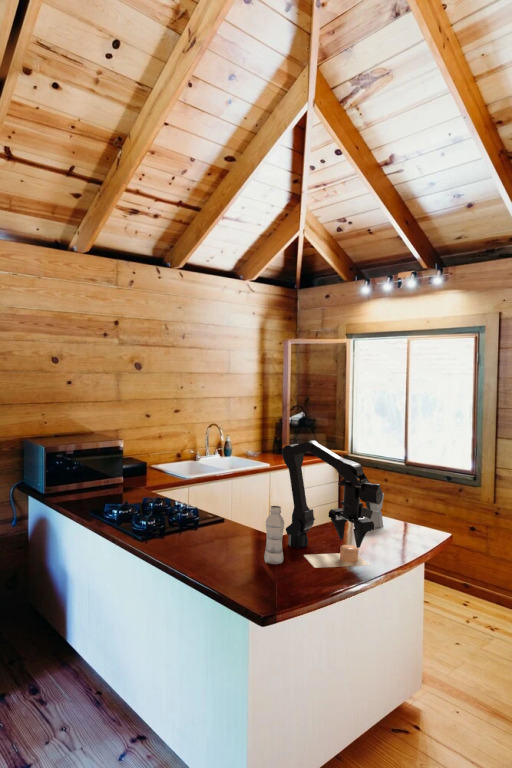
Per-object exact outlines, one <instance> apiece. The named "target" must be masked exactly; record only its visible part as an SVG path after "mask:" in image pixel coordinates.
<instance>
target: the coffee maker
mask: <svg viewBox="0 0 512 768" xmlns="http://www.w3.org/2000/svg"><path fill="white" fill-rule="evenodd" d="M382 493H383V497H382V501H381V503H380V504H379V505H378V504H372V503H367V502H364V504H365V508H367V509H369V510H372V511H373V513H372V517H371V519H368V518H367V517H363V519H368V520H371V521H373V522H374V524H375V525H374V529H382V528H383V527H384V521H383V513H382V511H381V510H382V508H383V504H384V503H383V502H384V499H385V498H384V497H385V493H384V492H382ZM381 527H382V528H381Z"/></svg>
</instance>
